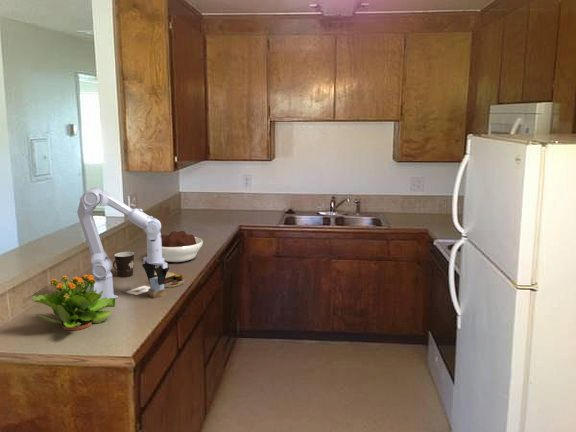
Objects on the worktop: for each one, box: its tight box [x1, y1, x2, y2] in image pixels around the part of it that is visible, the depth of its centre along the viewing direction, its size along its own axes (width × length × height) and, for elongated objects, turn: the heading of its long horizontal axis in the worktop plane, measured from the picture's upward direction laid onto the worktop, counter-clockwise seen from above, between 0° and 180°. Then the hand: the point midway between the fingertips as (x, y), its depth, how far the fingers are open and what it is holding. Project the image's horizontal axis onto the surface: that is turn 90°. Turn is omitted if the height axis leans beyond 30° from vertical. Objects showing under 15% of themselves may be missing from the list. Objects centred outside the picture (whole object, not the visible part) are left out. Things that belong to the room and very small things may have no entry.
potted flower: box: [31, 274, 116, 331], centre depth 181 cm, size 25×24×18 cm
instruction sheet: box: [125, 285, 150, 296], centre depth 221 cm, size 10×7×1 cm
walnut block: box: [147, 288, 167, 299], centre depth 214 cm, size 5×5×3 cm
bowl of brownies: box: [161, 230, 204, 263], centre depth 266 cm, size 25×25×15 cm
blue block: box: [149, 277, 165, 291], centre depth 213 cm, size 4×4×4 cm
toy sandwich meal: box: [154, 271, 185, 289], centre depth 229 cm, size 12×14×5 cm
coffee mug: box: [112, 251, 135, 279], centre depth 240 cm, size 12×9×10 cm
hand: (156, 282), depth 213 cm, fingers open, 7 cm apart
